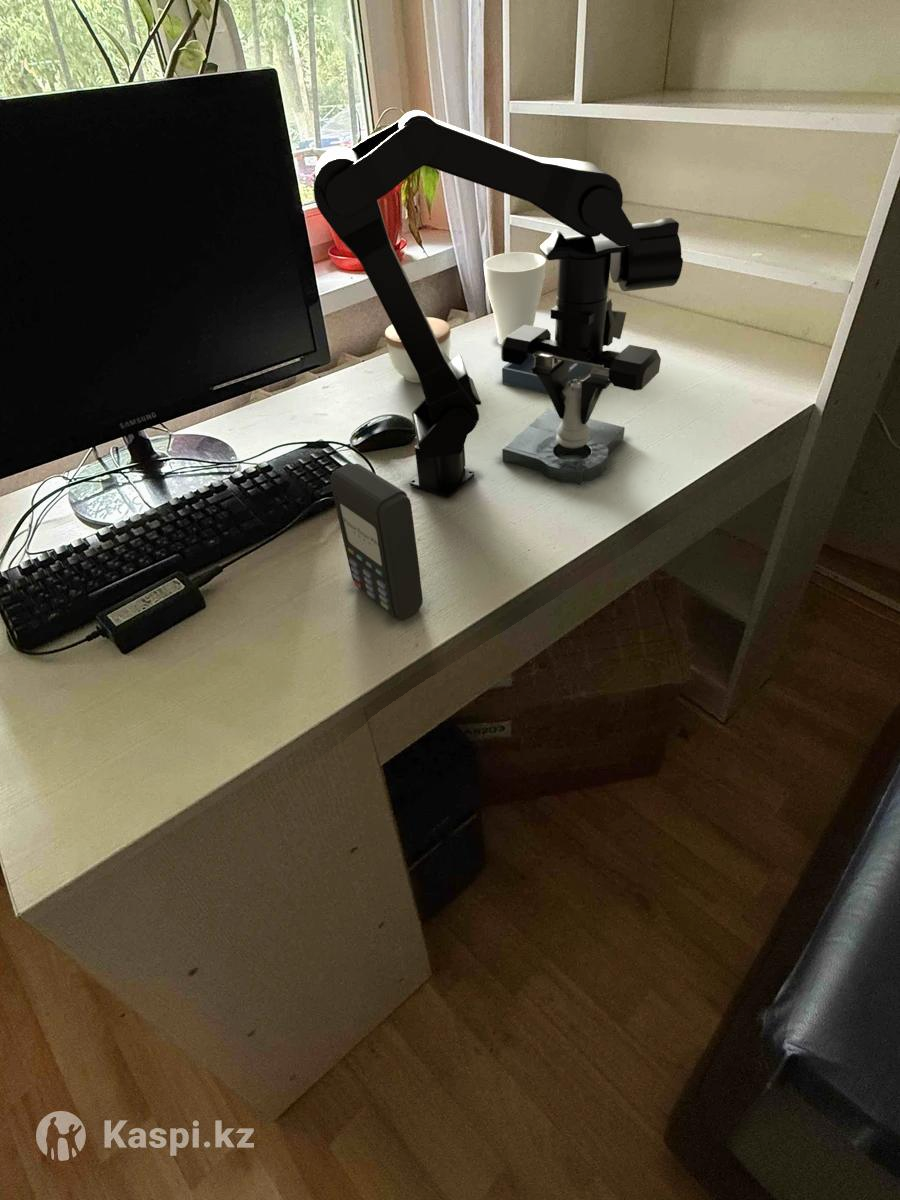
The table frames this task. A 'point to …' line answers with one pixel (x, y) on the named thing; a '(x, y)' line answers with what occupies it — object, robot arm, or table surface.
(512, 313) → the cup
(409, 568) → the card reader
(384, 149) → the robot arm
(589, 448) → the drain plate
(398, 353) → the trinket box
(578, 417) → the rook chess piece
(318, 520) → the table surface
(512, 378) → the tray
